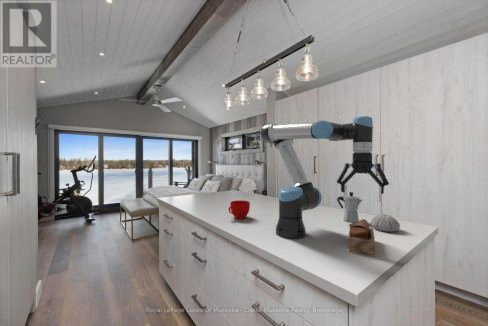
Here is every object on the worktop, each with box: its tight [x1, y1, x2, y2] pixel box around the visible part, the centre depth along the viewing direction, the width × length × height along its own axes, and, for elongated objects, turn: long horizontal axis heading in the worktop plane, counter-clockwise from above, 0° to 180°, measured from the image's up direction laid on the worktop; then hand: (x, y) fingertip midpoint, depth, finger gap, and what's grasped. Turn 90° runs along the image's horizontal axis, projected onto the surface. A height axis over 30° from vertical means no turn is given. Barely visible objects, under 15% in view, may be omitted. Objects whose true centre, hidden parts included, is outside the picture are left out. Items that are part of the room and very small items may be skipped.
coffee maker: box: [336, 191, 363, 224], centre depth 131 cm, size 15×9×18 cm, turn 48°
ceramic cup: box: [227, 199, 251, 220], centre depth 136 cm, size 13×17×10 cm
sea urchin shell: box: [370, 214, 401, 233], centre depth 114 cm, size 13×14×8 cm
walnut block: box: [348, 227, 376, 257], centre depth 92 cm, size 9×19×6 cm, turn 150°
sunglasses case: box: [348, 219, 372, 240], centre depth 93 cm, size 18×7×7 cm
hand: (361, 200), depth 92 cm, fingers open, 13 cm apart
